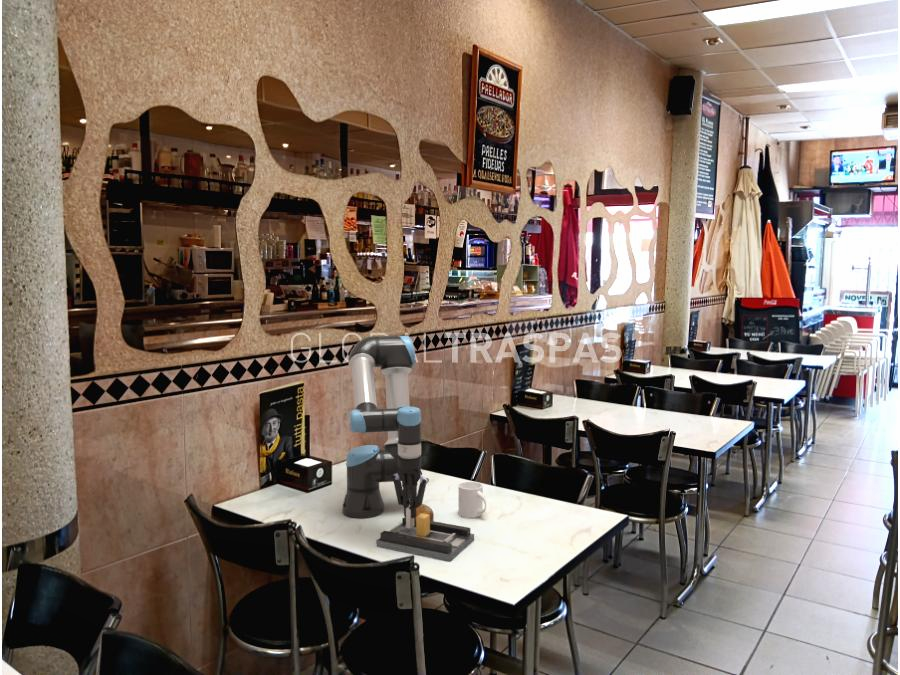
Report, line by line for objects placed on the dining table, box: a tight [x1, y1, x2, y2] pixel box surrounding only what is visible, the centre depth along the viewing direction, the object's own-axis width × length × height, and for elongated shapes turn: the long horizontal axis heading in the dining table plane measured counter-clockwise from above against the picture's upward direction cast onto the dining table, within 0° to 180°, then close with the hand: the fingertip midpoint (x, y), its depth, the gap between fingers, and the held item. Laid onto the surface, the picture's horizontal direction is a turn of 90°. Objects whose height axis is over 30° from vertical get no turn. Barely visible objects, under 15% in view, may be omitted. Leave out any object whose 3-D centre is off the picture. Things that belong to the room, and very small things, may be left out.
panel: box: [376, 517, 475, 562], centre depth 225 cm, size 26×18×4 cm
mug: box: [458, 481, 487, 519], centre depth 248 cm, size 9×12×11 cm
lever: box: [416, 513, 430, 538], centre depth 225 cm, size 3×4×7 cm
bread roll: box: [415, 503, 435, 521], centre depth 244 cm, size 10×10×8 cm
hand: (410, 526), depth 226 cm, fingers closed
